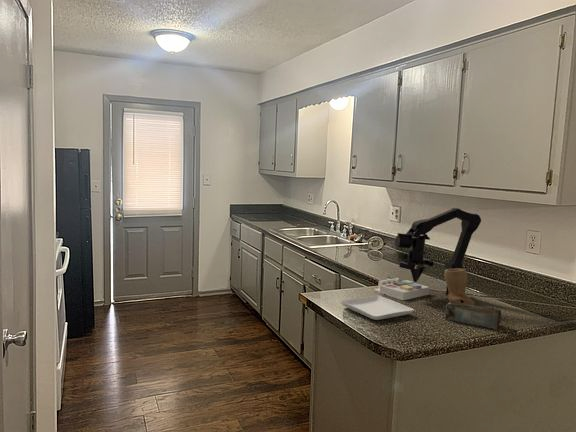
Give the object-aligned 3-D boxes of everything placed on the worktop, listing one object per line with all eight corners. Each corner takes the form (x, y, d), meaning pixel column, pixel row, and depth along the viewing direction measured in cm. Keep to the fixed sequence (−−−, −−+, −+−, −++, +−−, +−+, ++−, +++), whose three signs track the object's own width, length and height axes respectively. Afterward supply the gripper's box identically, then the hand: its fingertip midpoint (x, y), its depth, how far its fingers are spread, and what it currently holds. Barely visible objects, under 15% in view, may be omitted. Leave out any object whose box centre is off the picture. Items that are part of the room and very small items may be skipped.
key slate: (421, 289, 212) (421, 285, 211) (415, 290, 209) (415, 286, 209) (413, 287, 215) (413, 283, 215) (407, 288, 212) (407, 284, 212)
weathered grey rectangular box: (448, 314, 184) (450, 298, 184) (500, 325, 175) (502, 308, 174) (444, 319, 178) (445, 303, 177) (498, 331, 168) (500, 313, 167)
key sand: (413, 291, 208) (413, 287, 208) (407, 292, 205) (407, 288, 205) (405, 288, 211) (405, 284, 211) (399, 289, 208) (399, 286, 208)
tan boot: (440, 296, 212) (443, 264, 210) (467, 299, 209) (470, 267, 208) (445, 305, 197) (448, 271, 195) (474, 308, 195) (477, 274, 193)
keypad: (429, 294, 214) (430, 285, 213) (402, 300, 201) (403, 290, 201) (400, 286, 227) (401, 277, 226) (373, 291, 214) (374, 281, 213)
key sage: (414, 285, 218) (414, 281, 218) (408, 286, 215) (408, 283, 215) (406, 283, 221) (406, 279, 221) (400, 284, 219) (401, 280, 218)
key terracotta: (398, 292, 211) (398, 288, 210) (392, 293, 208) (392, 289, 208) (390, 289, 214) (390, 286, 214) (384, 290, 211) (384, 287, 211)
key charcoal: (406, 287, 214) (406, 283, 214) (400, 288, 211) (401, 284, 211) (398, 285, 218) (399, 281, 217) (393, 286, 215) (393, 282, 215)
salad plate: (374, 324, 168) (375, 315, 167) (338, 308, 186) (339, 299, 185) (415, 317, 179) (415, 308, 179) (377, 302, 197) (378, 294, 196)
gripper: (415, 244, 222) (412, 276, 224) (391, 247, 210) (388, 280, 212) (435, 248, 214) (432, 281, 215) (411, 251, 202) (408, 286, 203)
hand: (415, 282), depth 212 cm, fingers closed
